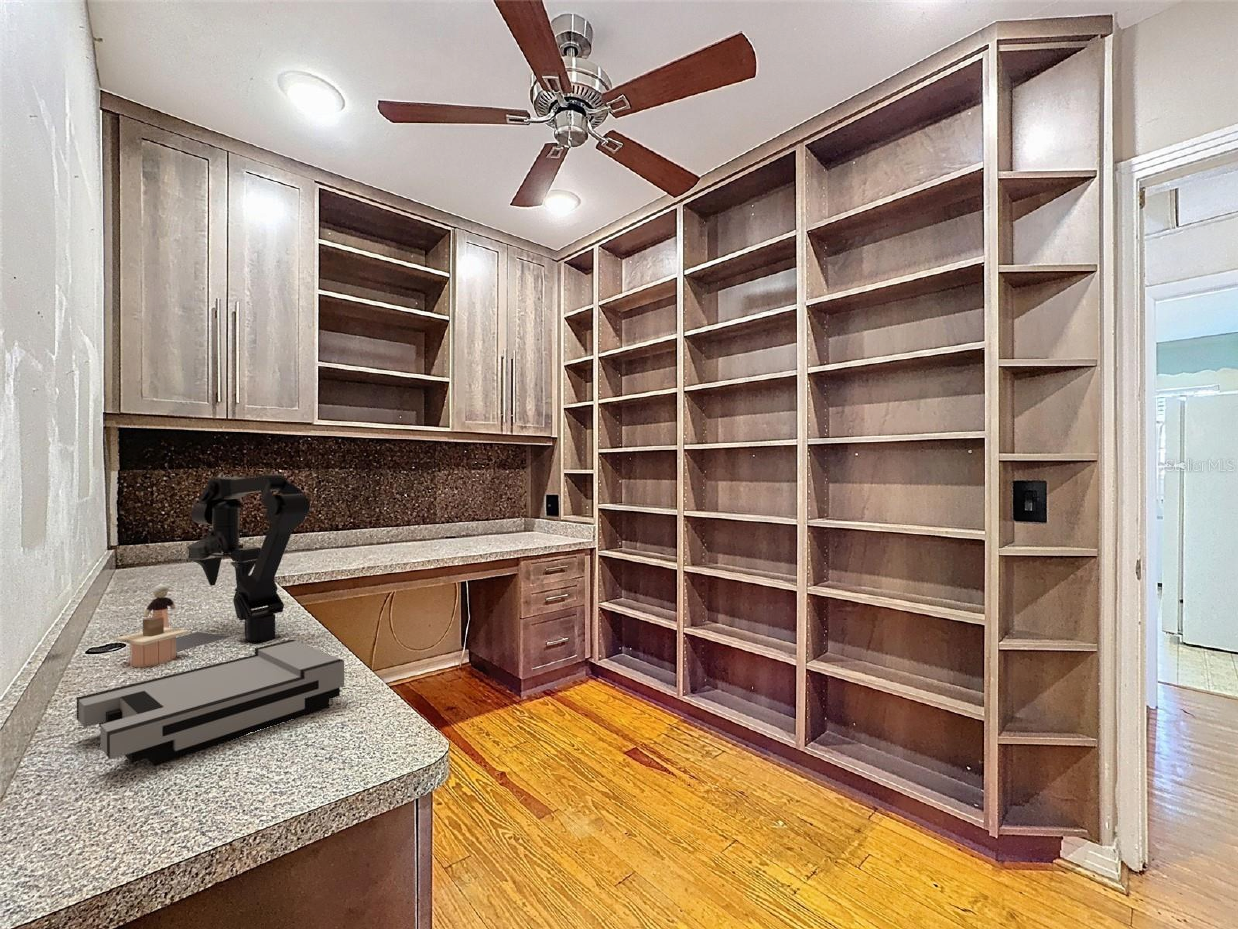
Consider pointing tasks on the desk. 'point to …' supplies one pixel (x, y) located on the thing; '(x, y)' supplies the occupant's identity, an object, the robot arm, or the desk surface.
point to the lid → (152, 632)
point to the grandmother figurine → (160, 604)
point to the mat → (196, 640)
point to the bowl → (152, 653)
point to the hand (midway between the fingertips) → (226, 586)
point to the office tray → (212, 702)
